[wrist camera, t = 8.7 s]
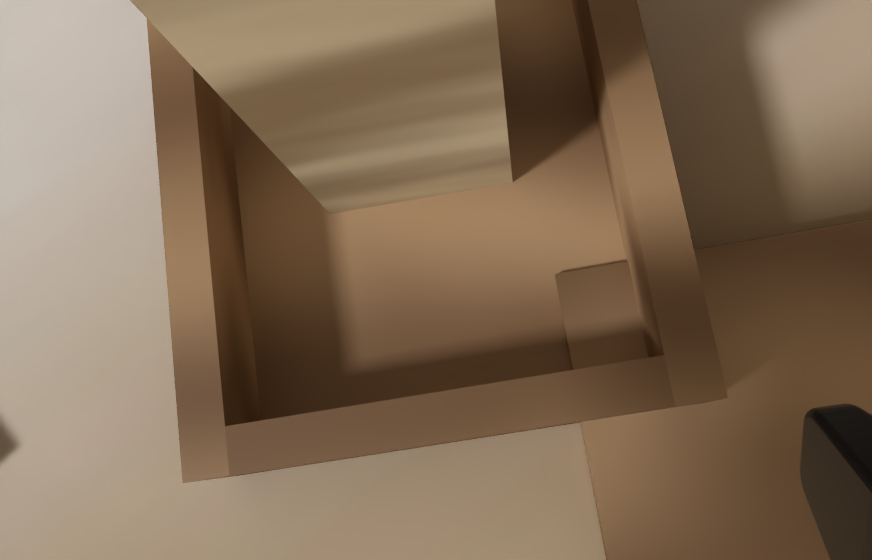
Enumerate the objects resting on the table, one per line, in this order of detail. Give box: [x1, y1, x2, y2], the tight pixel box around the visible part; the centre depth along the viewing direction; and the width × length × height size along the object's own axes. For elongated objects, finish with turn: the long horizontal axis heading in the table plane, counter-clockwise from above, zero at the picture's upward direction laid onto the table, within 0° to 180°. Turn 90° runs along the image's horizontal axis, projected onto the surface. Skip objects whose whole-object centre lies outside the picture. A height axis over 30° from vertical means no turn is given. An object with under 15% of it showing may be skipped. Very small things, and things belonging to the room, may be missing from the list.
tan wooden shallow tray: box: [147, 0, 728, 483], centre depth 18 cm, size 16×11×3 cm
